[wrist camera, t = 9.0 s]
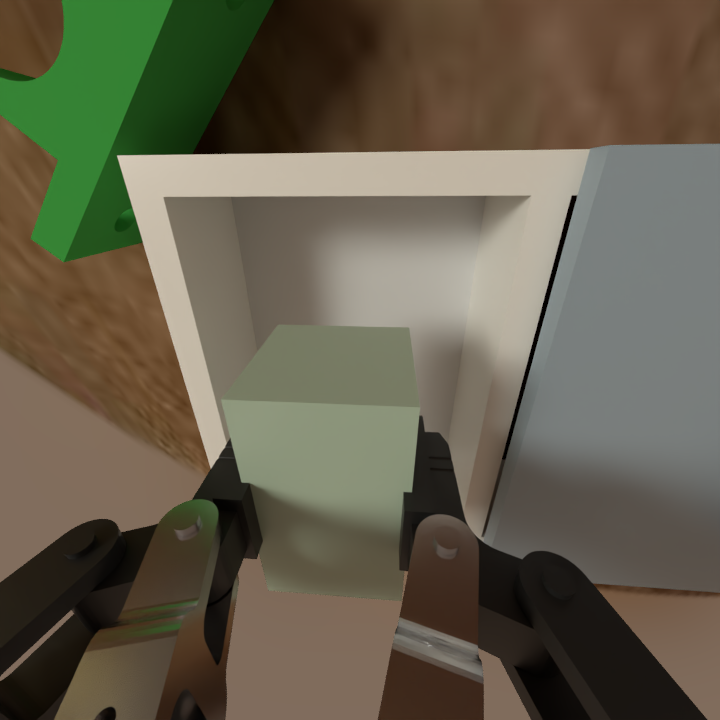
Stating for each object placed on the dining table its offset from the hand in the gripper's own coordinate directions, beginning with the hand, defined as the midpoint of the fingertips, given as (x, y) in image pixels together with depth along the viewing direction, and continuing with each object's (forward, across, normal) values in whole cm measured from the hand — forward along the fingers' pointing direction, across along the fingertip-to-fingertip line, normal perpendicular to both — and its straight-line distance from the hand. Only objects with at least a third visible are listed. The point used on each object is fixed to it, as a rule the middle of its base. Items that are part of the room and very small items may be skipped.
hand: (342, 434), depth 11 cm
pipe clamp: (+7, +7, -10) cm, 14 cm away
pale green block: (+1, 0, 0) cm, 1 cm away
